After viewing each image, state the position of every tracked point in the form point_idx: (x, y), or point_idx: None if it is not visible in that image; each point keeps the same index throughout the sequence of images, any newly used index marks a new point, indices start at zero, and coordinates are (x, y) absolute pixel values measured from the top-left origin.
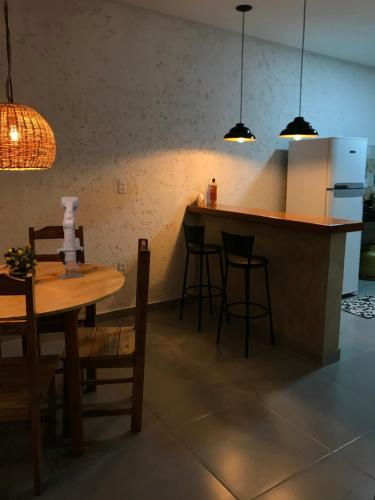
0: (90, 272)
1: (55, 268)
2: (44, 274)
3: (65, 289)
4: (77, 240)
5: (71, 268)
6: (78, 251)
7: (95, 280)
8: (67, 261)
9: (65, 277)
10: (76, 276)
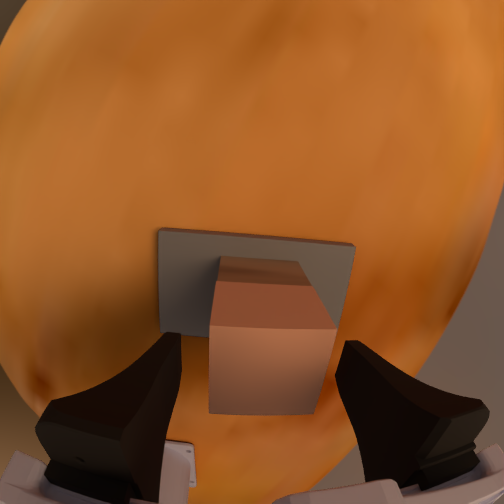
0: (76, 321)
1: (245, 478)
2: None
3: (422, 10)
4: None
5: (275, 288)
6: (109, 467)
7: (131, 64)
8: (295, 399)
9: (329, 250)
10: (227, 235)
